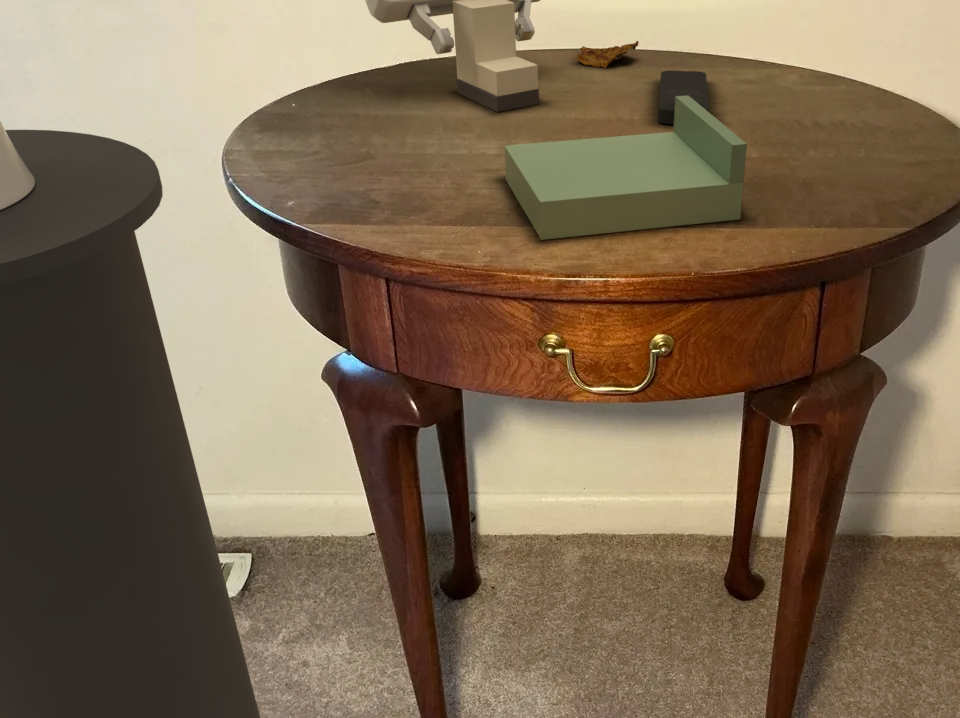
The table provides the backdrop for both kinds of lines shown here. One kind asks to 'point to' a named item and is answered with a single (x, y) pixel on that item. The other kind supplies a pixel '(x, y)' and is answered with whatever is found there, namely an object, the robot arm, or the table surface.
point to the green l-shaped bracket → (631, 178)
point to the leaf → (603, 54)
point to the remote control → (680, 91)
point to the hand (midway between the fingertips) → (487, 43)
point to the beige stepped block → (491, 56)
